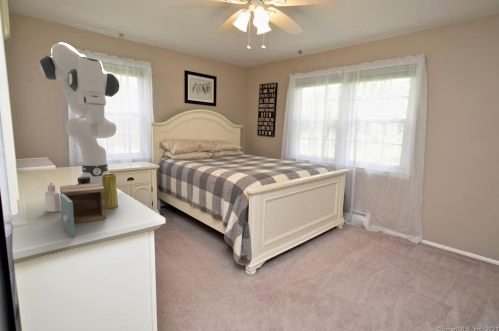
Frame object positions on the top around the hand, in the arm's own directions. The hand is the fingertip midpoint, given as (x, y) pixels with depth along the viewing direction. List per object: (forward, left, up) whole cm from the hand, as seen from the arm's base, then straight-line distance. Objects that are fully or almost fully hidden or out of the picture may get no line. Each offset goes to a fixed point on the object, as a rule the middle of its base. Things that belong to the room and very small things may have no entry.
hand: (94, 135), depth 105 cm
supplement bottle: (-15, -3, -31) cm, 35 cm away
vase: (-4, +5, -31) cm, 32 cm away
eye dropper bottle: (-10, -15, -31) cm, 36 cm away
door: (+19, -12, -30) cm, 38 cm away
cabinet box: (+6, -6, -31) cm, 32 cm away
